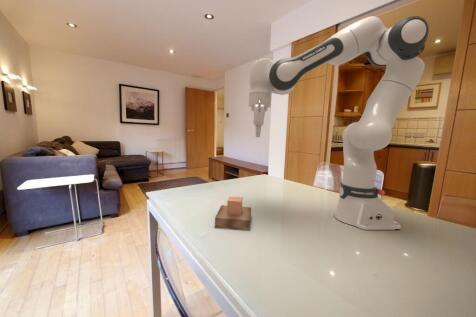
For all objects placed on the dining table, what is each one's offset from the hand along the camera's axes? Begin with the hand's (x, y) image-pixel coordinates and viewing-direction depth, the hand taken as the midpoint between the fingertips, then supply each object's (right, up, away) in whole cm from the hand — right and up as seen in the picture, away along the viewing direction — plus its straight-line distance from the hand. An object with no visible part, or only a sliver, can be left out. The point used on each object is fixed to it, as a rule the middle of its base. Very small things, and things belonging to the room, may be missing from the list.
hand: (257, 136), depth 84 cm
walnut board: (-10, -33, -8) cm, 35 cm away
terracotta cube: (-9, -29, -8) cm, 31 cm away
